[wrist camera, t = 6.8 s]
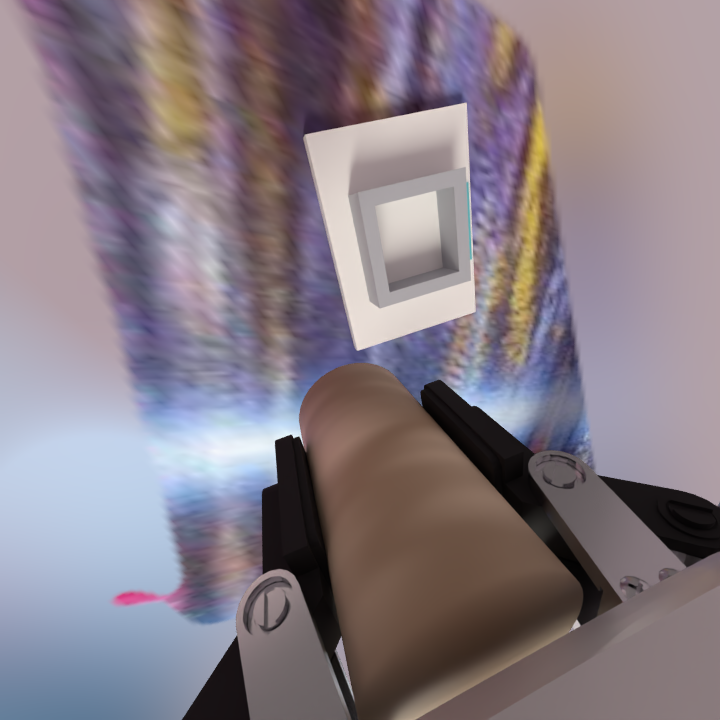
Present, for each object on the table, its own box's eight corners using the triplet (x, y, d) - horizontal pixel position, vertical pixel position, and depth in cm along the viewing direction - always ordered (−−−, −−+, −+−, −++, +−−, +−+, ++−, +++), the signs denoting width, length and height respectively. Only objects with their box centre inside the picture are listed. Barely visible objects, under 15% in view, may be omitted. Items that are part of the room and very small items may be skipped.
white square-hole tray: (458, 107, 23) (489, 89, 20) (469, 309, 30) (492, 319, 27) (303, 138, 21) (310, 123, 18) (354, 346, 28) (366, 361, 25)
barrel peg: (395, 347, 12) (597, 530, 5) (412, 435, 14) (572, 655, 7) (283, 386, 11) (323, 669, 4) (317, 472, 13) (385, 762, 6)
